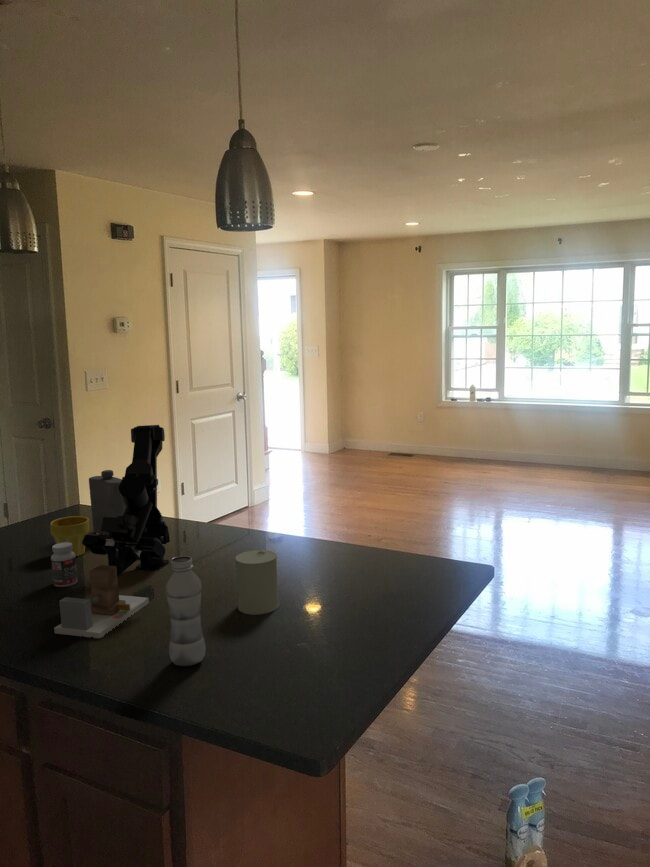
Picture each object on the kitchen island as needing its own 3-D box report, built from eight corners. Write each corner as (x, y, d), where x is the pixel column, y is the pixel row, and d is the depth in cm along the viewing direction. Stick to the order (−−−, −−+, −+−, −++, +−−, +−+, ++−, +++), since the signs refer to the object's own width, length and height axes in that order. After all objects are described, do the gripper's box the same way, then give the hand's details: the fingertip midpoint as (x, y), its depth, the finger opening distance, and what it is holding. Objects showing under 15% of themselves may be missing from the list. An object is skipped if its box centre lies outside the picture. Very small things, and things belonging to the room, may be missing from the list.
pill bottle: (69, 588, 166) (65, 549, 164) (48, 587, 167) (44, 548, 165) (82, 579, 171) (78, 541, 170) (62, 578, 172) (58, 541, 171)
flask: (133, 536, 207) (128, 472, 204) (117, 541, 203) (111, 475, 200) (107, 528, 217) (101, 466, 214) (90, 532, 212) (84, 470, 209)
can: (285, 600, 154) (283, 549, 152) (269, 616, 145) (266, 563, 143) (248, 596, 157) (245, 546, 155) (230, 612, 148) (227, 559, 146)
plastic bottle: (172, 655, 129) (164, 554, 126) (208, 652, 130) (201, 552, 127) (167, 672, 123) (159, 566, 120) (205, 669, 123) (198, 564, 120)
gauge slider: (100, 603, 152) (97, 563, 150) (135, 606, 149) (132, 566, 148) (81, 615, 145) (77, 574, 144) (117, 619, 143) (113, 577, 141)
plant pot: (99, 551, 193) (96, 518, 192) (68, 562, 185) (65, 527, 183) (76, 546, 199) (73, 514, 197) (45, 557, 190) (41, 523, 189)
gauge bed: (107, 598, 158) (104, 570, 157) (149, 602, 155) (146, 573, 154) (54, 633, 141) (51, 601, 140) (100, 638, 137) (97, 605, 136)
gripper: (82, 499, 155) (55, 561, 146) (155, 502, 150) (131, 567, 141) (106, 523, 164) (81, 583, 155) (175, 526, 158) (153, 589, 150)
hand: (110, 580), depth 150 cm, fingers closed
